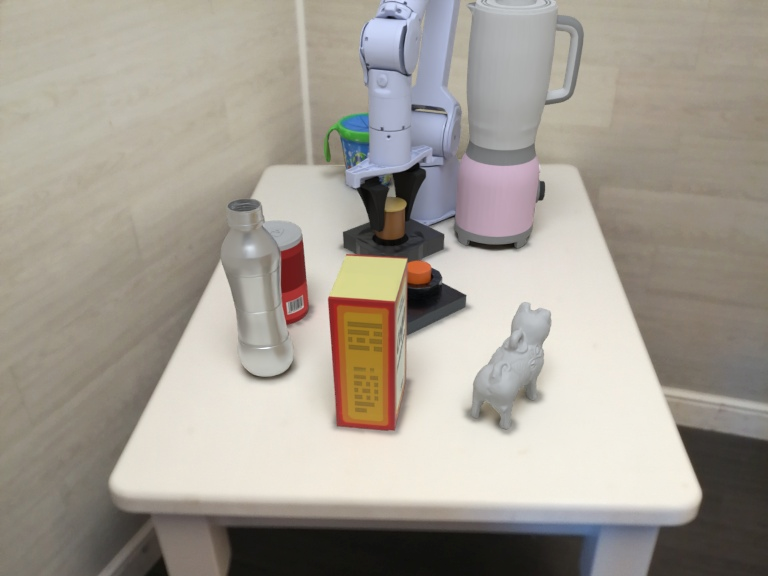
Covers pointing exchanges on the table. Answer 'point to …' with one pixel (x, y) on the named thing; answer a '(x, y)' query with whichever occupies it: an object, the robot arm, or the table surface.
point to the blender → (509, 115)
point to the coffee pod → (393, 219)
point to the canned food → (291, 268)
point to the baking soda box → (369, 340)
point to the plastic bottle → (256, 290)
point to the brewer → (431, 302)
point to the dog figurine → (513, 364)
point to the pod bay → (395, 242)
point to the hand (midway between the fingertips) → (390, 224)
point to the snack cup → (353, 140)
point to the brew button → (418, 272)
